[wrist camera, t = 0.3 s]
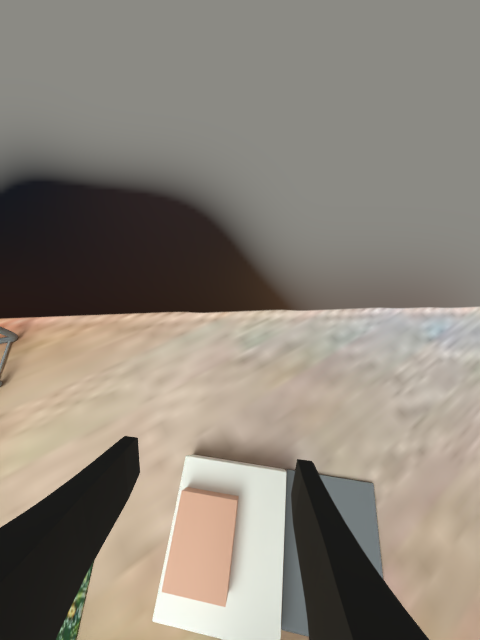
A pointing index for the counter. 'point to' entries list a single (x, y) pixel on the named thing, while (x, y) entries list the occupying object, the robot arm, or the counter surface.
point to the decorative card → (75, 612)
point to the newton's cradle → (8, 339)
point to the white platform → (237, 554)
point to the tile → (202, 546)
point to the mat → (361, 520)
